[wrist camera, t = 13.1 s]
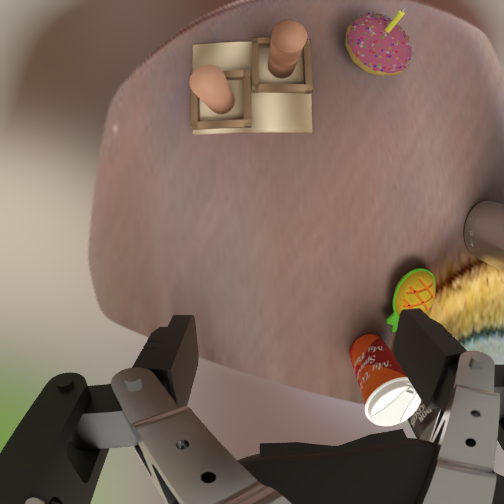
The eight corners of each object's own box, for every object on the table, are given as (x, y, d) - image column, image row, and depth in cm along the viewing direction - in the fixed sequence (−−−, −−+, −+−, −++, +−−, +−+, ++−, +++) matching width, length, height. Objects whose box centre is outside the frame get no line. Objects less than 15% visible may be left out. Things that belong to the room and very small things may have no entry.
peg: (234, 88, 35) (225, 63, 25) (234, 113, 36) (225, 96, 26) (208, 90, 36) (189, 65, 25) (208, 114, 36) (189, 98, 26)
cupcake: (340, 20, 33) (366, -21, 22) (398, 38, 34) (438, 7, 22) (334, 74, 36) (362, 44, 24) (394, 91, 36) (438, 71, 24)
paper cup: (360, 320, 45) (393, 377, 31) (398, 337, 46) (436, 391, 32) (332, 361, 47) (354, 424, 33) (370, 375, 48) (398, 434, 34)
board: (307, 45, 35) (325, 6, 23) (310, 133, 38) (332, 121, 26) (194, 47, 35) (172, 9, 23) (194, 134, 38) (169, 124, 27)
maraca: (433, 267, 43) (451, 280, 37) (409, 327, 45) (424, 344, 40) (397, 257, 42) (413, 269, 37) (373, 320, 45) (385, 338, 40)
